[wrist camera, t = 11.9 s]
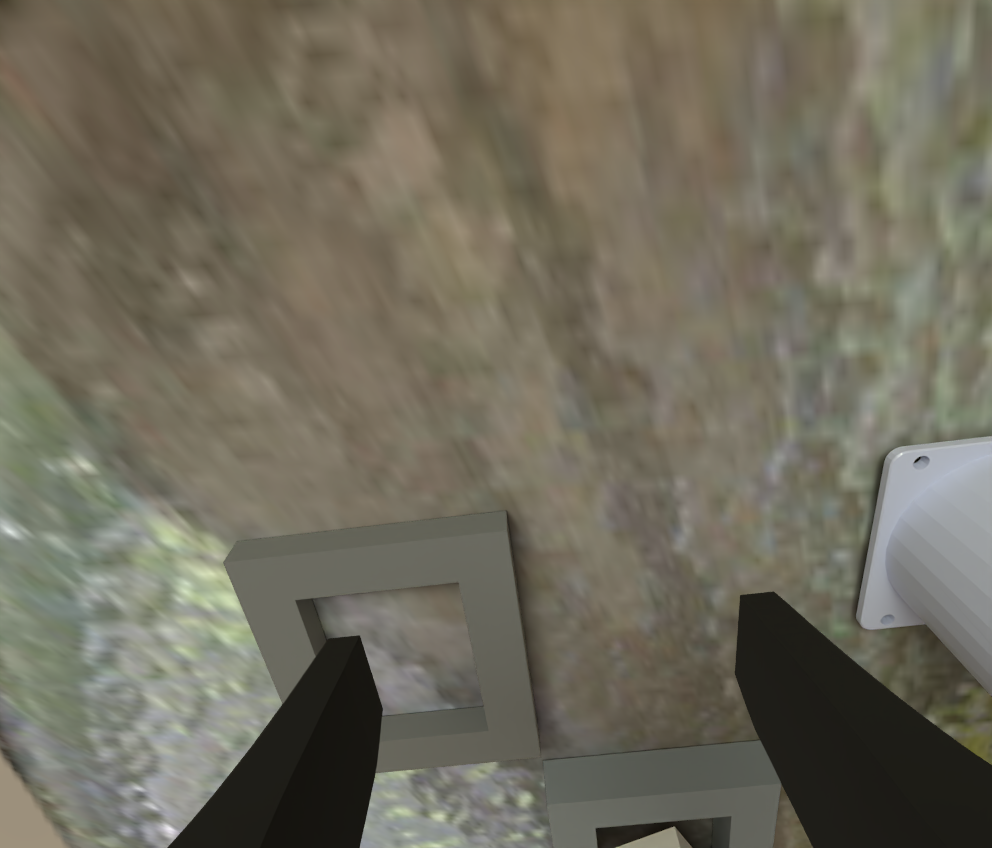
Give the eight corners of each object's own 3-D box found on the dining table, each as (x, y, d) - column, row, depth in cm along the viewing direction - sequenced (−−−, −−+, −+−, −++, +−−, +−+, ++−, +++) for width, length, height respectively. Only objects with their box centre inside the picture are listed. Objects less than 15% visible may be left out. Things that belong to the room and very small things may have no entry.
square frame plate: (506, 510, 21) (507, 530, 20) (538, 731, 26) (541, 757, 25) (236, 541, 21) (223, 562, 20) (321, 752, 27) (314, 778, 25)
